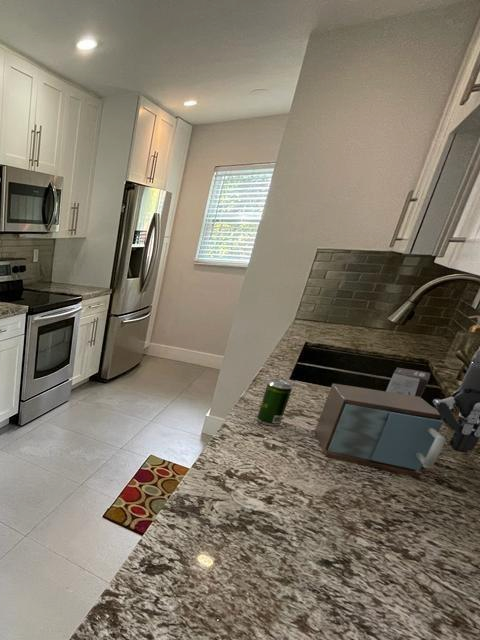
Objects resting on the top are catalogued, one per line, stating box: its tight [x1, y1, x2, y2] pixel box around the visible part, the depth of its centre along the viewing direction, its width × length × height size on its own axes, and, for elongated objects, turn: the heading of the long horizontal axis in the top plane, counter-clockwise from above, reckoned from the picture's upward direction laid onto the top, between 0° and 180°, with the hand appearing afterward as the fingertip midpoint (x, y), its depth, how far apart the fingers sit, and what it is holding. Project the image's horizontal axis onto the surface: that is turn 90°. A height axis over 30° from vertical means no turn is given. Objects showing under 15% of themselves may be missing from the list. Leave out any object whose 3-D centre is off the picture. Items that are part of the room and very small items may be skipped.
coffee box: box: [385, 367, 431, 398], centre depth 108 cm, size 9×6×16 cm
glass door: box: [370, 412, 447, 471], centre depth 86 cm, size 8×6×12 cm
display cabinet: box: [313, 383, 443, 478], centre depth 95 cm, size 16×14×14 cm
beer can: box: [257, 378, 293, 427], centre depth 111 cm, size 5×5×12 cm
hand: (459, 450), depth 81 cm, fingers closed
